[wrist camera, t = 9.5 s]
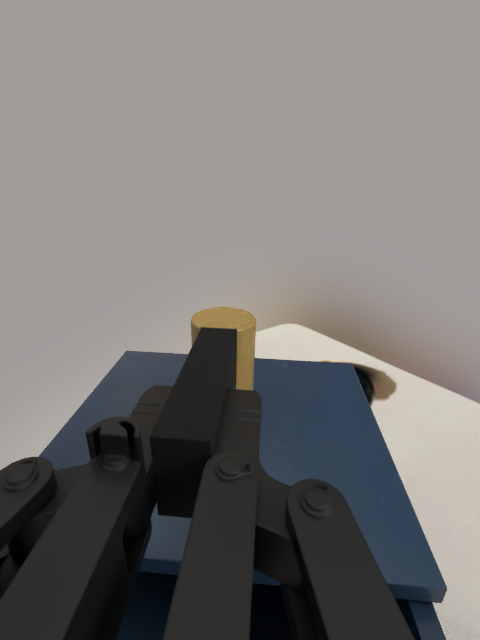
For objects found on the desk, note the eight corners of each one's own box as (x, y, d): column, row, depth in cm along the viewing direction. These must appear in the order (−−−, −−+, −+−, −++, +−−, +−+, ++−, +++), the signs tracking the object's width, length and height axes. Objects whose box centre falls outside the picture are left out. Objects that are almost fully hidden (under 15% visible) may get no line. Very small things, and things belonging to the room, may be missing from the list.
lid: (-26, 554, 13) (-93, 399, 10) (127, 359, 26) (116, 271, 23) (442, 604, 11) (508, 443, 9) (350, 373, 25) (365, 281, 22)
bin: (-98, 965, 10) (-263, 879, 7) (107, 527, 23) (86, 420, 20) (455, 1077, 9) (597, 1042, 6) (348, 551, 22) (372, 441, 19)
